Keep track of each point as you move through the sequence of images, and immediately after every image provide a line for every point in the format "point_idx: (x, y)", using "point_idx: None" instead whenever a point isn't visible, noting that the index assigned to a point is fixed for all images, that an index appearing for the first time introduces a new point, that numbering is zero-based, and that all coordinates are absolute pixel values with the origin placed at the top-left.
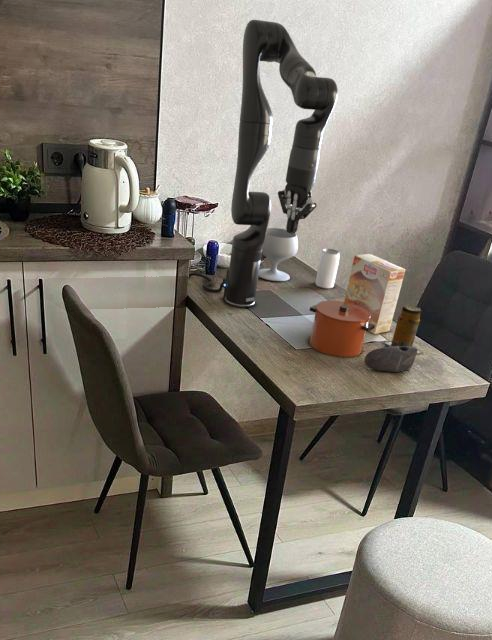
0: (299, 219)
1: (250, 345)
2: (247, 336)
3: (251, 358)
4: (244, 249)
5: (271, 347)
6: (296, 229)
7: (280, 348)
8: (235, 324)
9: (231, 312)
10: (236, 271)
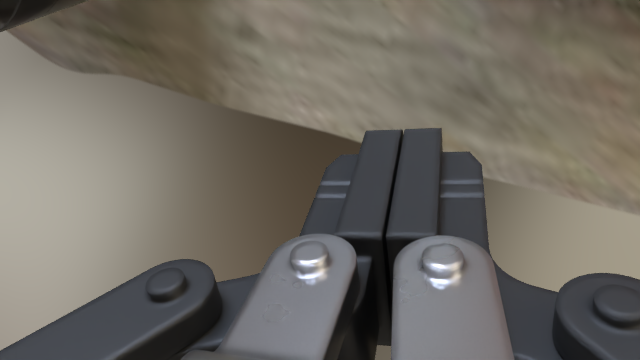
0: (512, 284)
1: (522, 142)
2: (451, 102)
3: (612, 206)
4: (6, 18)
5: (581, 80)
6: (481, 183)
7: (611, 50)
8: (339, 74)
9: (231, 14)
10: (80, 1)
